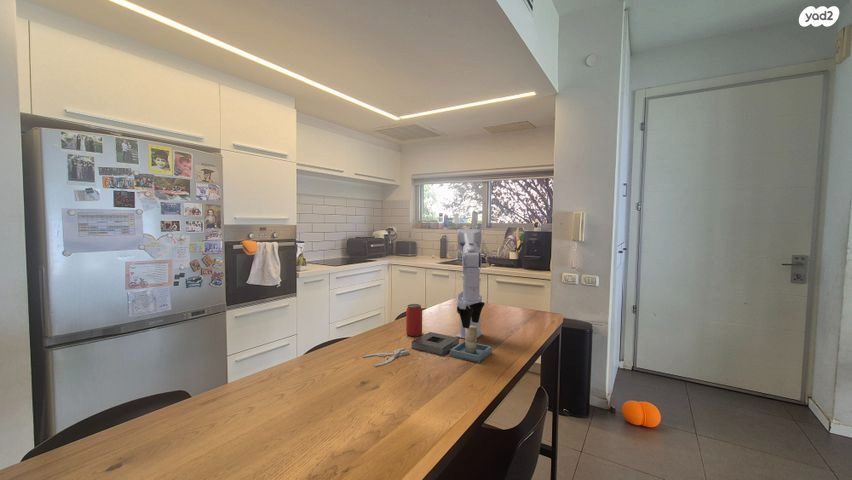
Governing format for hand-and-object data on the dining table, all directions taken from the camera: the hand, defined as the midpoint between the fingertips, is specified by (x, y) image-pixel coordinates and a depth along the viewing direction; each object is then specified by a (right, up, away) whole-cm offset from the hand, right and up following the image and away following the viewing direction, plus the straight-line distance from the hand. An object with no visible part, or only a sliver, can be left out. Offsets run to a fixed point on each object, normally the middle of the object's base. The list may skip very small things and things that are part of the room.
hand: (470, 325), depth 121 cm
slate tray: (0, -10, 0) cm, 10 cm away
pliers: (-29, -11, -2) cm, 31 cm away
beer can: (-21, -9, +22) cm, 31 cm away
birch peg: (0, -10, 0) cm, 10 cm away
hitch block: (-12, -10, +8) cm, 18 cm away
